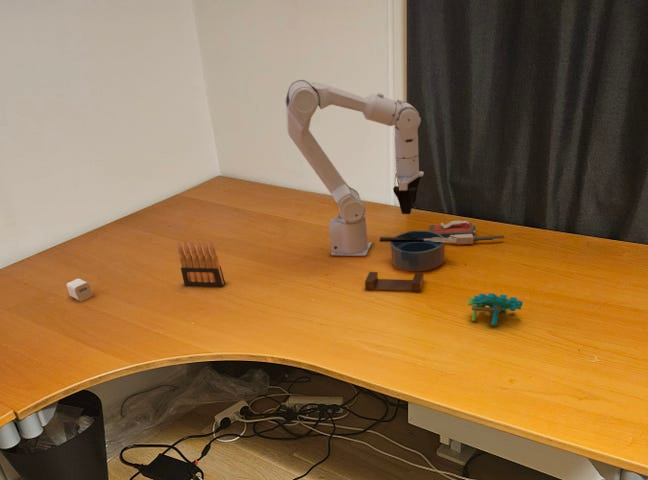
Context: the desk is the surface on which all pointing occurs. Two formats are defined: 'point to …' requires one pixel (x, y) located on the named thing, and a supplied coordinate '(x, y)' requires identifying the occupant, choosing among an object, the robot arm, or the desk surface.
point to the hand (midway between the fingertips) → (408, 207)
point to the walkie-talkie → (460, 232)
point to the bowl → (417, 252)
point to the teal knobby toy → (493, 305)
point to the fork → (419, 240)
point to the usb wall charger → (79, 289)
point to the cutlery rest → (394, 283)
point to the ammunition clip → (200, 266)
